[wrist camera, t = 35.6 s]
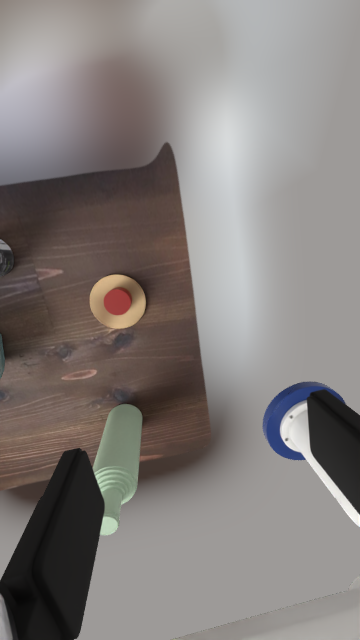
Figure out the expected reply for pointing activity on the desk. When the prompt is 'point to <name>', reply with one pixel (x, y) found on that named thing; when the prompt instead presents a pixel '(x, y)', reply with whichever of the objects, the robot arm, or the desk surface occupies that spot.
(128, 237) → the desk surface
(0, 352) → the flower pot
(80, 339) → the desk surface
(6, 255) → the pill bottle
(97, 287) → the coaster
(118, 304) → the cap
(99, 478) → the bottle
